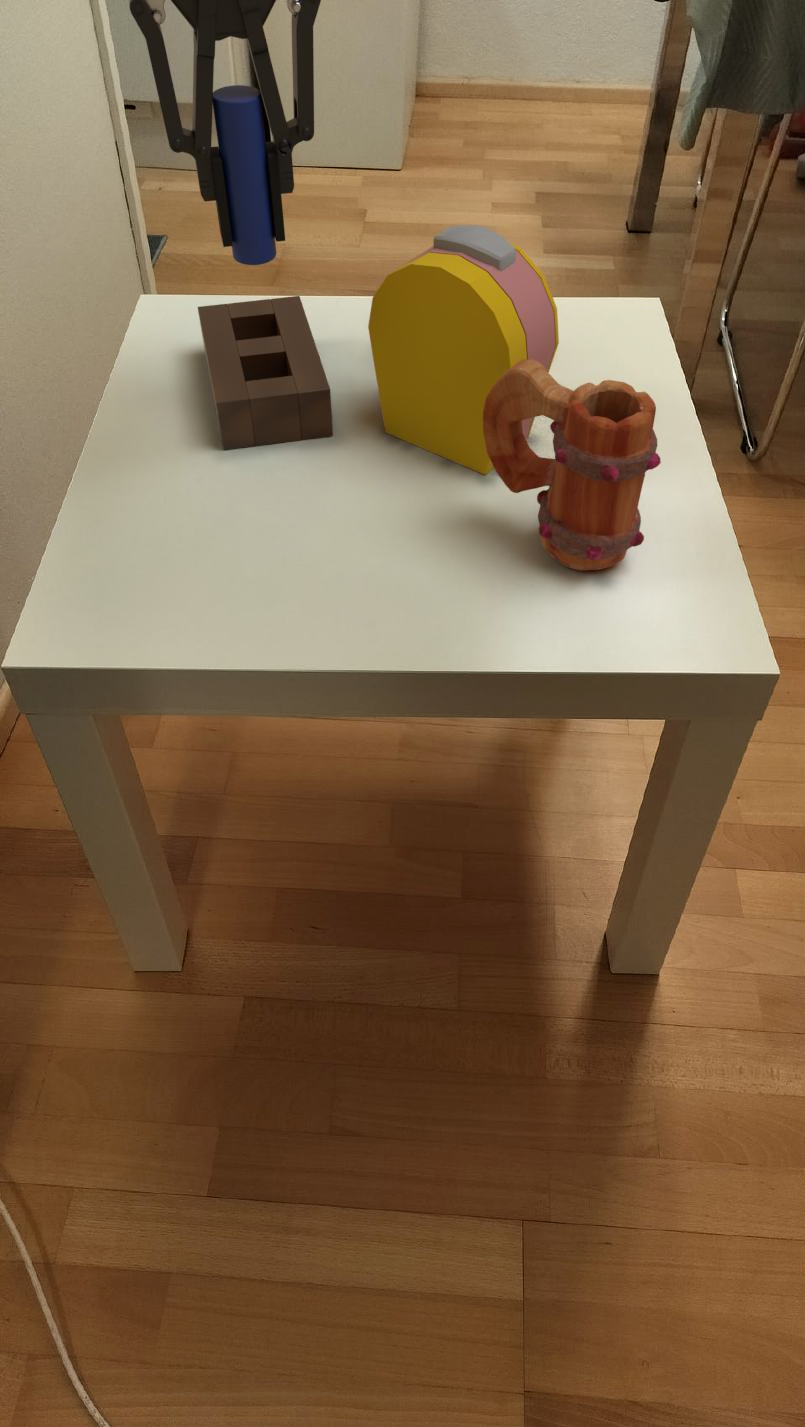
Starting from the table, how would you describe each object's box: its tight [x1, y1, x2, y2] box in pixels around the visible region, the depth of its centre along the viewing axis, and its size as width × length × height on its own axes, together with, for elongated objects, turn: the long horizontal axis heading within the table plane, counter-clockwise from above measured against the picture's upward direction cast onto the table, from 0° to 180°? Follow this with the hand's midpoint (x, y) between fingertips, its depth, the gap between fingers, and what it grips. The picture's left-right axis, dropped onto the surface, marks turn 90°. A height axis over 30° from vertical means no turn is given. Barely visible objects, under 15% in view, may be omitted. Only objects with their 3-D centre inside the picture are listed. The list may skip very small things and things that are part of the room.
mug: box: [483, 359, 662, 571], centre depth 79 cm, size 15×8×15 cm, turn 58°
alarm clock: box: [367, 224, 560, 476], centre depth 88 cm, size 15×8×18 cm, turn 54°
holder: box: [197, 295, 334, 451], centre depth 98 cm, size 10×18×5 cm, turn 13°
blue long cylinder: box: [212, 84, 277, 266], centre depth 78 cm, size 4×4×12 cm
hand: (252, 235), depth 82 cm, fingers closed on blue long cylinder, 4 cm apart
